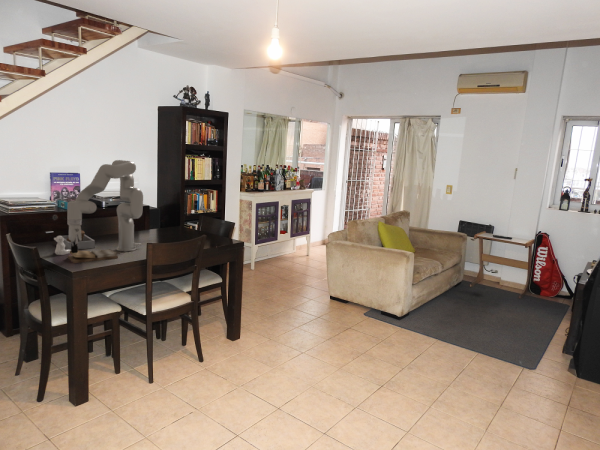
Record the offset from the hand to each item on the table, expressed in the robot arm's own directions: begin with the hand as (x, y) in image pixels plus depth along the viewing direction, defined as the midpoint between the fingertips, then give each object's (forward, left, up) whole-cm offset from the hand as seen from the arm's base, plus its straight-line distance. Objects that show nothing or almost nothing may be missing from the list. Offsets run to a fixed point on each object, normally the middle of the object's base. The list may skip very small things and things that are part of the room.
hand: (74, 252), depth 256 cm
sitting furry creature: (+3, -19, -5) cm, 20 cm away
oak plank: (-4, 0, -2) cm, 5 cm away
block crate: (-11, -39, -5) cm, 41 cm away
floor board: (-10, 0, -5) cm, 11 cm away
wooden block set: (-12, -39, -6) cm, 41 cm away
